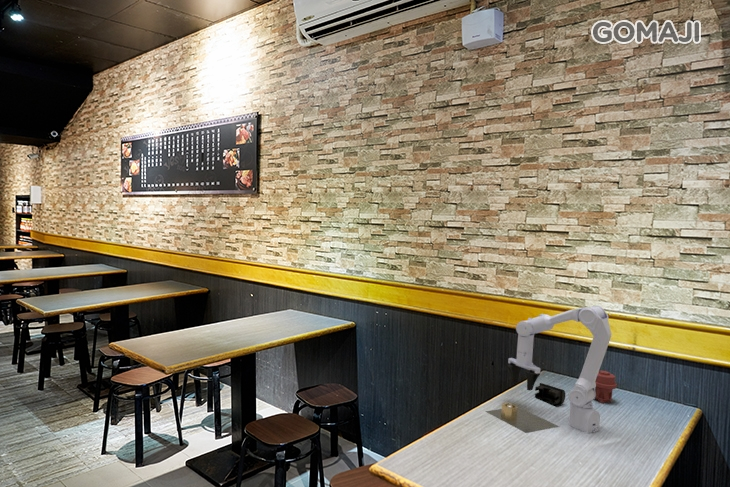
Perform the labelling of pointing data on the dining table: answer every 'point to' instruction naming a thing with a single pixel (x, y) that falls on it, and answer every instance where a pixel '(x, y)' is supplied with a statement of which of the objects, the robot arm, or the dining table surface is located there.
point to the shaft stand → (524, 420)
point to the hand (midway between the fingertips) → (522, 386)
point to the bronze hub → (509, 411)
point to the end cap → (550, 394)
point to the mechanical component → (604, 386)
